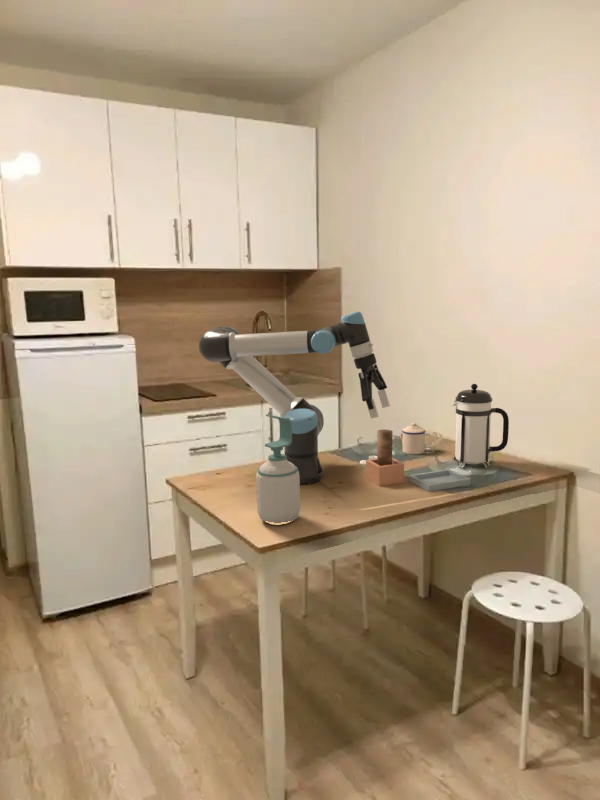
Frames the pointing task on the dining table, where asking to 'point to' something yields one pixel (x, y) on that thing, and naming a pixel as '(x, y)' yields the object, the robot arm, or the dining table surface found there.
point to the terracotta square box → (385, 472)
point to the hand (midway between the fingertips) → (380, 412)
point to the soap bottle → (278, 481)
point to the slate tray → (439, 480)
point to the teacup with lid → (413, 439)
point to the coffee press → (476, 426)
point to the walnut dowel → (384, 447)
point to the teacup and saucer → (365, 460)
